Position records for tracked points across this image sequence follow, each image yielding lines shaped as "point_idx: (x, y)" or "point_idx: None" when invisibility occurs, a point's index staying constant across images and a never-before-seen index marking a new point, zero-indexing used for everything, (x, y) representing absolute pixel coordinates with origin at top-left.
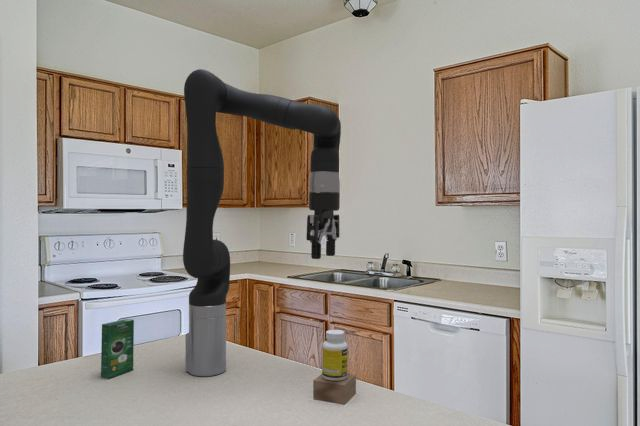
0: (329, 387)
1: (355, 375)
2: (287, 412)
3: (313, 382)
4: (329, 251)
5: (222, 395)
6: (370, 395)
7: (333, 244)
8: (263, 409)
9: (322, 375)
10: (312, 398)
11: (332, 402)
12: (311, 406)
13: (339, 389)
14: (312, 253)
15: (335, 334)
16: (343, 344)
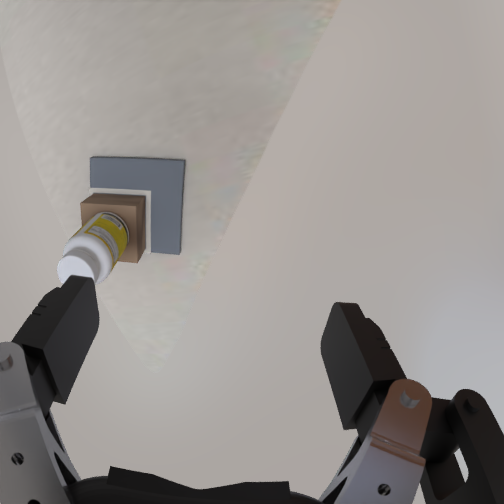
0: None
1: (135, 262)
2: (59, 167)
3: (82, 202)
4: (336, 340)
5: (81, 36)
6: (168, 262)
7: (338, 406)
8: (55, 128)
9: (94, 215)
10: (96, 190)
11: None
12: None
13: None
14: (44, 304)
15: (60, 280)
16: None
